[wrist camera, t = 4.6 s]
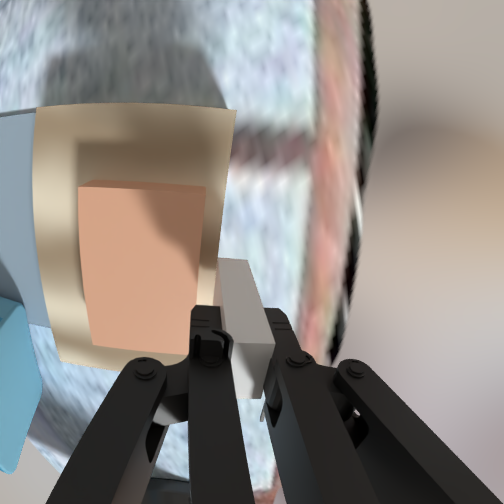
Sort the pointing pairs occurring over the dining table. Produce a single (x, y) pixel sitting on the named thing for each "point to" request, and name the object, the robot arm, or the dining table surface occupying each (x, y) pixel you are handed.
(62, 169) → the plate
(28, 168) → the mat
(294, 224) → the dining table surface
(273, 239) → the dining table surface
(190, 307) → the salmon orange flat block
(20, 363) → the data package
